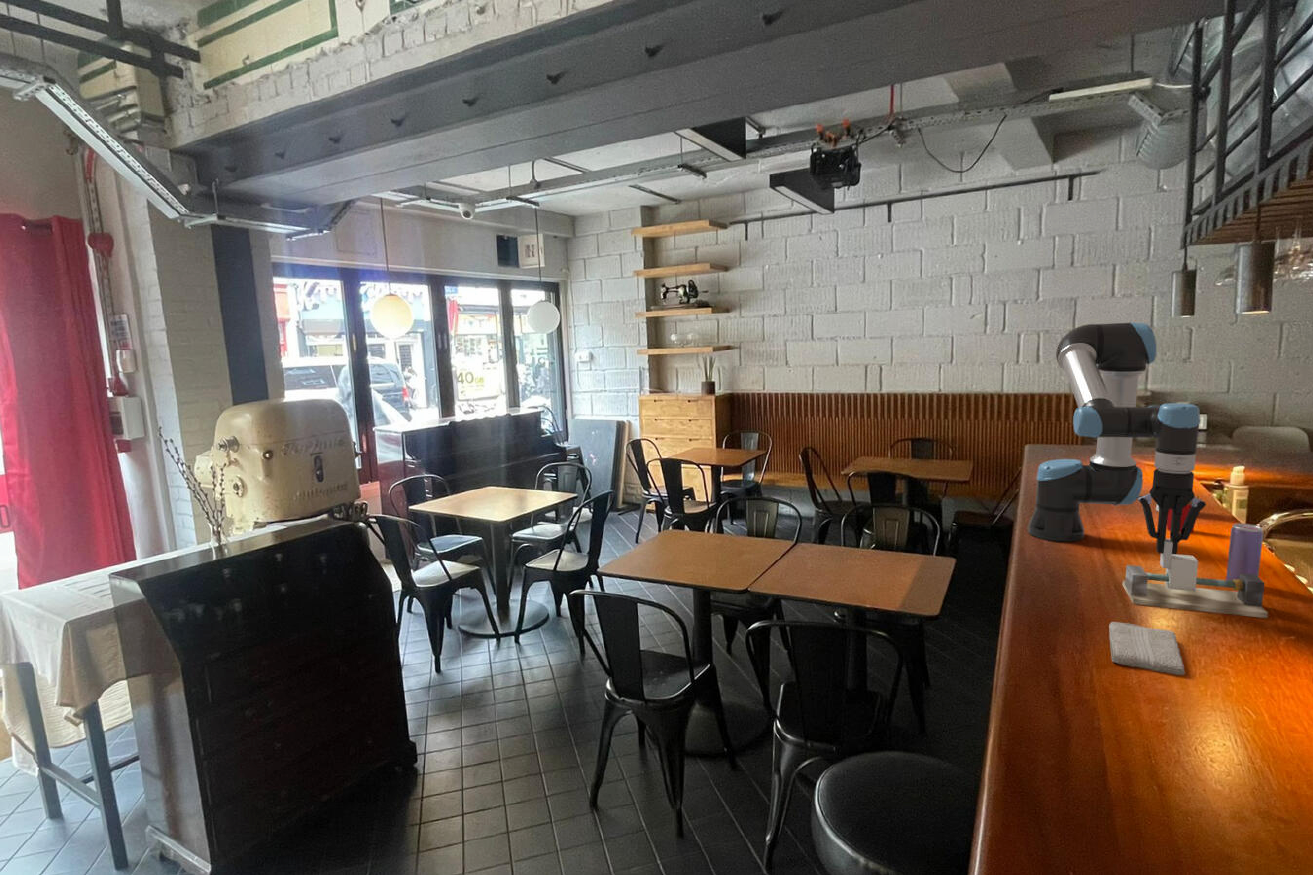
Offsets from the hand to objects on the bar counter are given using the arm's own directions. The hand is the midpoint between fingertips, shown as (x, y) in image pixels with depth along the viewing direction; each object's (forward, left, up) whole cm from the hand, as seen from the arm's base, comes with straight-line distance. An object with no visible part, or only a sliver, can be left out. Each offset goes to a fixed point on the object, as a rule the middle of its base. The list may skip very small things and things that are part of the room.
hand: (1165, 566), depth 163 cm
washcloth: (-10, -32, -9) cm, 34 cm away
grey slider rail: (+6, 0, -8) cm, 10 cm away
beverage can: (+20, +15, -8) cm, 26 cm away
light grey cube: (+3, 0, -5) cm, 6 cm away
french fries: (+18, +61, -8) cm, 64 cm away
